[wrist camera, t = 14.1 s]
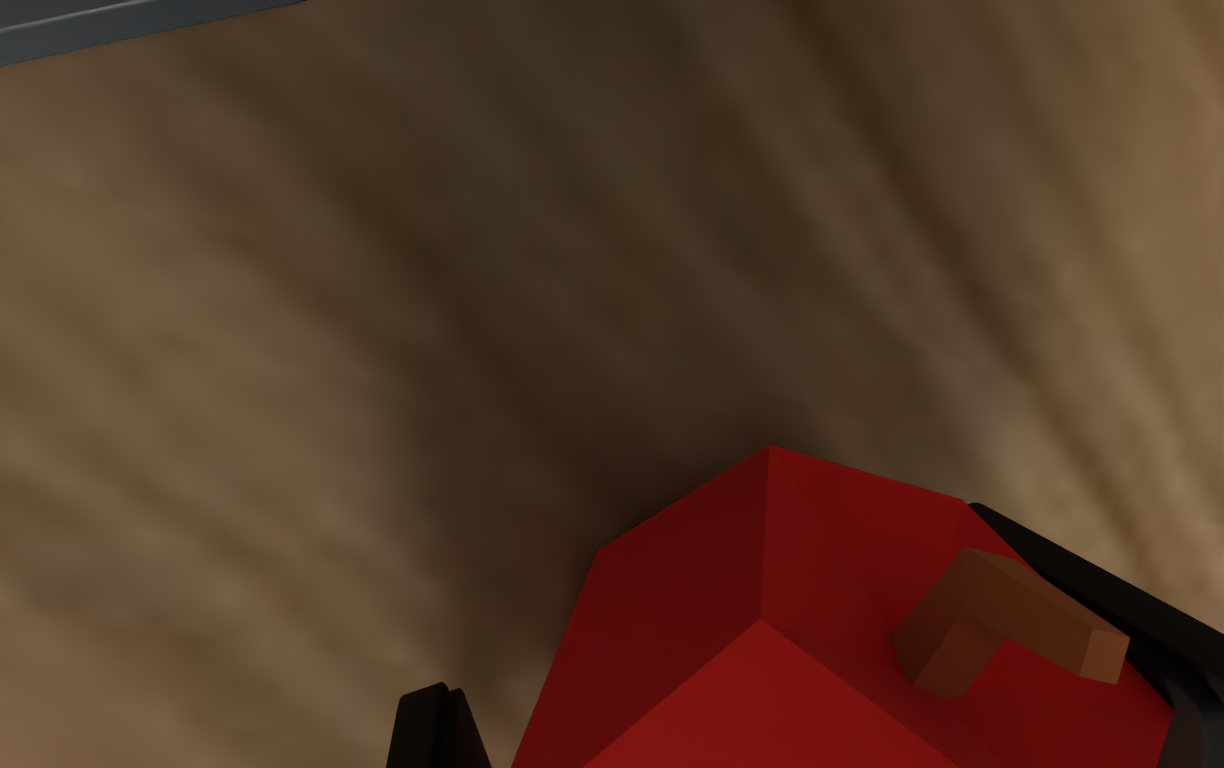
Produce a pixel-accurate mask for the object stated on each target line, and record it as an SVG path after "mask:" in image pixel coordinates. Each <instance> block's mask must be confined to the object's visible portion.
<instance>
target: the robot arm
mask: <svg viewBox="0 0 1224 768" xmlns="http://www.w3.org/2000/svg"><path fill="white" fill-rule="evenodd" d="M967 505H968V506H969V507H970V508H971V509H972V510H973V511H974V512H975V513H976V514H977V515H978V516H979V517H980V518H982V519H983V520H984V521H985V522H986V523H987V524H988V525H989V526H990V527H991V528H992V529H993V530H994V531H995V532H996V533H997V534H998V535H999V536H1000V537H1001V538H1002V539H1003V540H1004V541H1005V542H1006V543H1007V544H1008V545H1009V546H1010V547H1011V548H1012V549H1013V550H1014V551H1015V552H1016V553H1017V554H1018V555H1019V556H1020V557H1021V558H1022V559H1023V560H1024V561H1025V562H1026V563H1027V564H1028V565H1029V566H1031V567H1032V568H1033V569H1034V570H1035V571H1036V572H1037V573H1038V574H1039V575H1040V576H1041V577H1042V578H1043V579H1045V580H1046V581H1047V582H1049V583H1050V584H1052V585H1053V586H1055V587H1056V588H1058V589H1059V590H1061V591H1062V592H1064V593H1065V594H1067V595H1068V596H1070V597H1071V598H1073V599H1074V600H1076V601H1077V602H1079V603H1080V604H1081V605H1083V606H1084V607H1086V608H1087V609H1089V610H1090V611H1092V612H1093V613H1095V614H1096V615H1098V616H1099V617H1101V618H1102V619H1104V620H1105V621H1107V622H1108V623H1110V624H1111V625H1113V626H1114V627H1115V628H1117V629H1118V630H1120V631H1121V632H1123V633H1124V634H1126V635H1127V636H1129V637H1130V640H1129V644H1128V647H1127V651H1126V654H1125V658H1124V659H1125V660H1126V661H1127V662H1129V663H1130V664H1131V665H1132V666H1133V667H1134V668H1135V669H1136V670H1137V671H1138V672H1139V673H1140V674H1141V675H1142V676H1143V678H1144V679H1145V680H1146V681H1147V682H1148V683H1149V684H1150V685H1151V686H1152V687H1153V688H1154V689H1155V690H1156V691H1157V693H1158V694H1159V695H1160V696H1161V697H1162V698H1163V699H1164V700H1165V701H1166V702H1167V703H1168V704H1169V705H1170V706H1171V708H1173V709H1174V712H1173V715H1172V718H1171V721H1170V725H1169V728H1168V731H1167V734H1166V737H1165V740H1164V744H1163V747H1162V750H1161V753H1160V756H1159V759H1158V763H1157V766H1156V768H1224V634H1222V633H1221V632H1219V631H1217V630H1215V629H1213V628H1211V627H1209V626H1208V625H1206V624H1204V623H1202V622H1200V621H1198V620H1196V619H1195V618H1193V617H1191V616H1189V615H1187V614H1185V613H1183V612H1182V611H1180V610H1178V609H1176V608H1174V607H1172V606H1170V605H1169V604H1167V603H1165V602H1163V601H1161V600H1159V599H1157V598H1156V597H1154V596H1152V595H1150V594H1148V593H1146V592H1144V591H1143V590H1141V589H1139V588H1137V587H1135V586H1133V585H1131V584H1130V583H1128V582H1126V581H1124V580H1122V579H1120V578H1118V577H1117V576H1115V575H1113V574H1111V573H1109V572H1107V571H1105V570H1104V569H1102V568H1100V567H1098V566H1096V565H1094V564H1092V563H1091V562H1089V561H1087V560H1085V559H1083V558H1081V557H1079V556H1078V555H1076V554H1074V553H1072V552H1070V551H1068V550H1066V549H1065V548H1063V547H1061V546H1059V545H1057V544H1055V543H1053V542H1052V541H1050V540H1048V539H1046V538H1044V537H1042V536H1040V535H1039V534H1037V533H1035V532H1033V531H1031V530H1029V529H1027V528H1026V527H1024V526H1022V525H1020V524H1018V523H1016V522H1014V521H1013V520H1011V519H1009V518H1007V517H1005V516H1003V515H1001V514H1000V513H998V512H996V511H994V510H992V509H990V508H988V507H987V506H985V505H983V504H980V503H977V502H976V503H970V504H967ZM386 768H492V767H491V765H490V762H489V759H488V756H487V754H486V751H485V748H484V746H483V743H482V740H481V737H480V735H479V732H478V729H477V727H476V724H475V721H474V718H473V716H472V713H471V710H470V708H469V705H468V702H467V699H466V697H465V694H464V692H463V691H462V689H461V688H458V689H455V690H452V691H449V690H448V687H447V686H446V685H445V683H443V682H440V683H438V684H435V685H432V686H429V687H426V688H423V689H420V690H417V691H414V692H411V693H408V694H405V695H403V696H402V697H401V698H400V701H399V704H398V709H397V714H396V719H395V724H394V729H393V734H392V739H391V744H390V750H389V755H388V760H387V765H386Z"/></svg>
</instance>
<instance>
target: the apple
mask: <svg viewBox="0 0 1224 768" xmlns="http://www.w3.org/2000/svg"><path fill="white" fill-rule="evenodd" d="M1129 640H1130V637H1129V636H1127V635H1126V634H1124V633H1123V632H1121V631H1120V630H1118V629H1117V628H1115V627H1114V626H1113V625H1111V624H1110V623H1108V622H1107V621H1105V620H1104V619H1102V618H1101V617H1099V616H1098V615H1096V614H1095V613H1093V612H1092V611H1090V610H1089V609H1087V608H1086V607H1084V606H1083V605H1081V604H1080V603H1079V602H1077V601H1076V600H1074V599H1073V598H1071V597H1070V596H1068V595H1067V594H1065V593H1064V592H1062V591H1061V590H1059V589H1058V588H1056V587H1055V586H1053V585H1052V584H1050V583H1049V582H1047V581H1046V580H1045V579H1043V578H1042V577H1041V576H1040V575H1039V574H1038V573H1037V572H1036V571H1035V570H1034V569H1033V568H1032V567H1031V566H1029V565H1028V564H1027V563H1026V562H1025V561H1024V560H1023V559H1022V558H1021V557H1020V556H1019V555H1018V554H1017V553H1016V552H1015V551H1014V550H1013V549H1012V548H1011V547H1010V546H1009V545H1008V544H1007V543H1006V542H1005V541H1004V540H1003V539H1002V538H1001V537H1000V536H999V535H998V534H997V533H996V532H995V531H994V530H993V529H992V528H991V527H990V526H989V525H988V524H987V523H986V522H985V521H984V520H983V519H982V518H980V517H979V516H978V515H977V514H976V513H975V512H974V511H973V510H972V509H971V508H970V507H969V506H968V505H967V504H966V503H965V502H964V501H963V500H962V499H959V498H955V497H952V496H948V495H945V494H941V493H938V492H934V491H931V490H927V489H924V488H920V487H917V486H913V485H910V484H906V483H903V482H899V481H896V480H893V479H889V478H886V477H882V476H879V475H875V474H872V473H868V472H865V471H861V470H858V469H854V468H851V467H847V466H844V465H840V464H837V463H833V462H830V461H826V460H823V459H819V458H816V457H812V456H809V455H805V454H802V453H798V452H795V451H791V450H788V449H784V448H781V447H777V446H774V445H770V444H769V445H767V446H766V447H764V448H762V449H761V450H759V451H758V452H756V453H754V454H753V455H751V456H749V457H748V458H746V459H745V460H743V461H741V462H740V463H738V464H736V465H735V466H733V467H732V468H730V469H728V470H727V471H725V472H723V473H722V474H720V475H719V476H717V477H715V478H714V479H712V480H711V481H709V482H707V483H706V484H704V485H702V486H701V487H699V488H698V489H696V490H694V491H693V492H691V493H689V494H688V495H686V496H685V497H683V498H681V499H680V500H678V501H676V502H675V503H673V504H672V505H670V506H668V507H667V508H665V509H664V510H662V511H660V512H659V513H657V514H655V515H654V516H652V517H651V518H649V519H647V520H646V521H644V522H642V523H641V524H639V525H638V526H636V527H634V528H633V529H631V530H629V531H628V532H626V533H625V534H623V535H621V536H620V537H618V538H616V539H615V540H613V541H612V542H610V543H608V544H607V545H605V546H604V547H602V548H600V549H599V550H597V553H596V555H595V558H594V560H593V563H592V565H591V568H590V570H589V573H588V575H587V578H586V580H585V583H584V585H583V588H582V590H581V593H580V595H579V598H578V600H577V603H576V605H575V608H574V610H573V613H572V615H571V618H570V620H569V623H568V625H567V628H566V630H565V633H564V635H563V638H562V640H561V643H560V646H559V648H558V651H557V653H556V656H555V658H554V661H553V663H552V666H551V668H550V671H549V673H548V676H547V678H546V681H545V683H544V686H543V688H542V691H541V693H540V696H539V698H538V701H537V703H536V706H535V708H534V711H533V713H532V716H531V718H530V721H529V723H528V726H527V728H526V731H525V733H524V736H523V738H522V741H521V744H520V746H519V749H518V751H517V754H516V756H515V759H514V761H513V764H512V766H511V768H1156V766H1157V763H1158V759H1159V756H1160V753H1161V750H1162V747H1163V744H1164V740H1165V737H1166V734H1167V731H1168V728H1169V725H1170V721H1171V718H1172V715H1173V712H1174V709H1173V708H1171V706H1170V705H1169V704H1168V703H1167V702H1166V701H1165V700H1164V699H1163V698H1162V697H1161V696H1160V695H1159V694H1158V693H1157V691H1156V690H1155V689H1154V688H1153V687H1152V686H1151V685H1150V684H1149V683H1148V682H1147V681H1146V680H1145V679H1144V678H1143V676H1142V675H1141V674H1140V673H1139V672H1138V671H1137V670H1136V669H1135V668H1134V667H1133V666H1132V665H1131V664H1130V663H1129V662H1127V661H1126V660H1125V659H1124V658H1125V654H1126V651H1127V647H1128V644H1129Z"/></svg>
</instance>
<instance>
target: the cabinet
mask: <svg viewBox="0 0 1224 768" xmlns="http://www.w3.org/2000/svg"><path fill="white" fill-rule="evenodd" d="M301 1H306V0H0V66H4V65H9V64H13V63H18V62H22V61H27V60H32V59H36V58H41V57H46V56H50V55H55V54H60V53H64V52H69V51H74V50H78V49H83V48H88V47H92V46H97V45H101V44H106V43H111V42H115V41H120V40H125V39H129V38H134V37H139V36H143V35H148V34H153V33H157V32H162V31H166V30H171V29H176V28H180V27H185V26H190V25H194V24H199V23H204V22H208V21H213V20H218V19H222V18H227V17H232V16H236V15H241V14H245V13H250V12H255V11H259V10H264V9H269V8H273V7H278V6H283V5H287V4H292V3H297V2H301Z"/></svg>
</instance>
